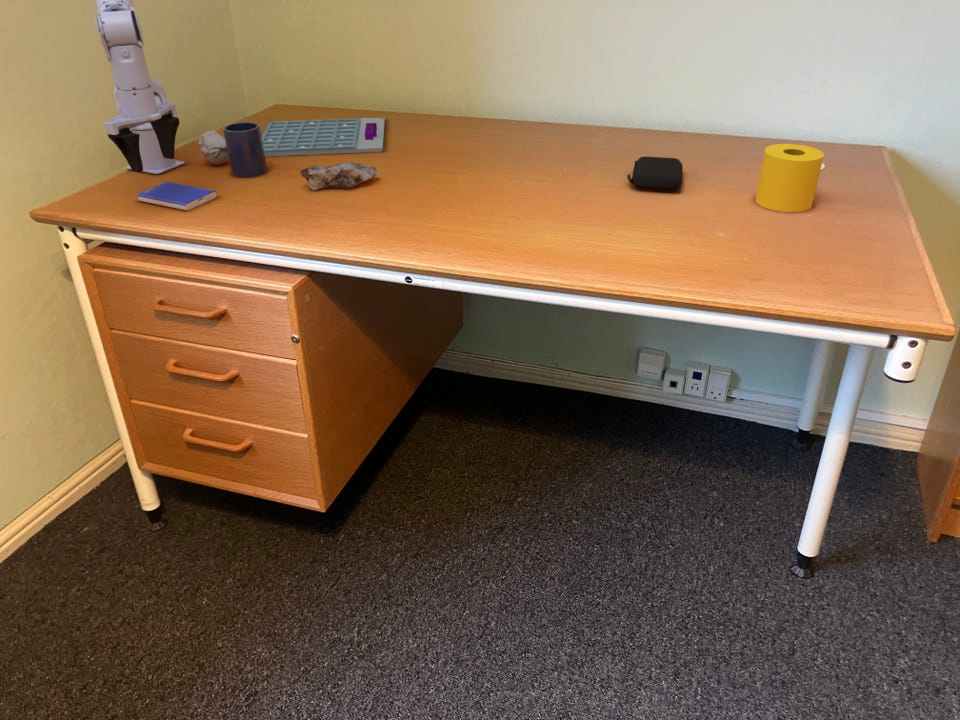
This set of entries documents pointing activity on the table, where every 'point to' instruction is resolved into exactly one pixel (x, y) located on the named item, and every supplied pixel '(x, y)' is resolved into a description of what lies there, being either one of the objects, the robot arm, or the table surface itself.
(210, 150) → the grey rounded lump
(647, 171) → the carrying case
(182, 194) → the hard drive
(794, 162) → the yellow toilet paper roll
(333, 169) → the mineral rock
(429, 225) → the table surface
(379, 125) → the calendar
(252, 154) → the pen cup
